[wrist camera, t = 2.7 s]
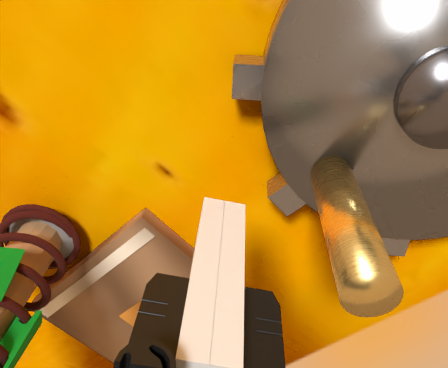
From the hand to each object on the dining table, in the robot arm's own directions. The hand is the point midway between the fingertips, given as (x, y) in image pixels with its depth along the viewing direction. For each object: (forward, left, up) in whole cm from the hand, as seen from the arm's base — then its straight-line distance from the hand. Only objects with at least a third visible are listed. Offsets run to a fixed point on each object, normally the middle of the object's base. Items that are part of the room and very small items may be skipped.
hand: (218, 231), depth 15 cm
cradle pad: (+13, +6, -8) cm, 16 cm away
